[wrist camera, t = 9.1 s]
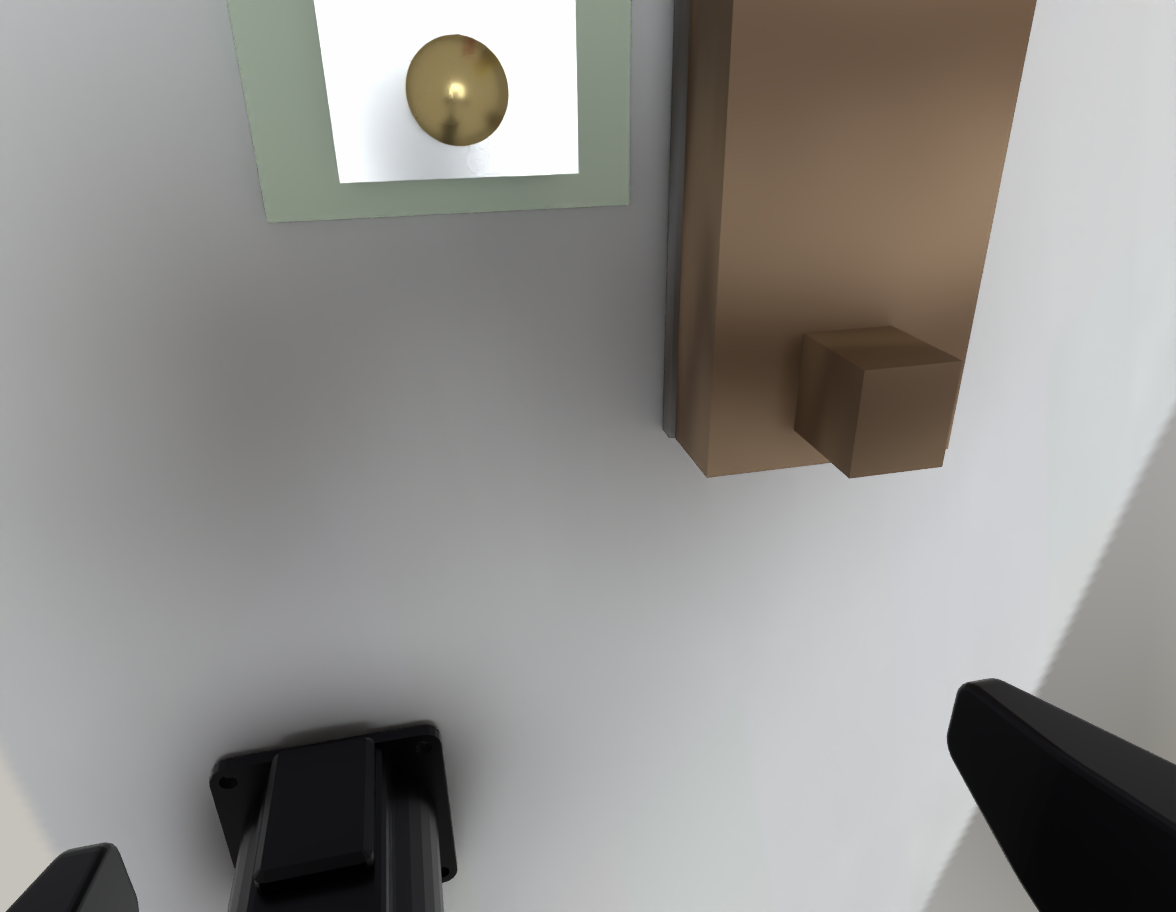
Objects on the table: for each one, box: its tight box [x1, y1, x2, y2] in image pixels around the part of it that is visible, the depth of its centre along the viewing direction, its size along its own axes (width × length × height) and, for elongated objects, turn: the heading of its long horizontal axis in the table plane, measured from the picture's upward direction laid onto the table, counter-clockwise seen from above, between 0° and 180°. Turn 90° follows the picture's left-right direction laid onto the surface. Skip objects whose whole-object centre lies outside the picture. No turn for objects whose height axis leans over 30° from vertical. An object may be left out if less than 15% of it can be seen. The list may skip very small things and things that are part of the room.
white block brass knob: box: [314, 0, 578, 183], centre depth 15 cm, size 6×4×3 cm
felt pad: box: [227, 0, 631, 223], centre depth 16 cm, size 8×8×1 cm
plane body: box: [663, 0, 1037, 478], centre depth 16 cm, size 18×7×6 cm, turn 1°
